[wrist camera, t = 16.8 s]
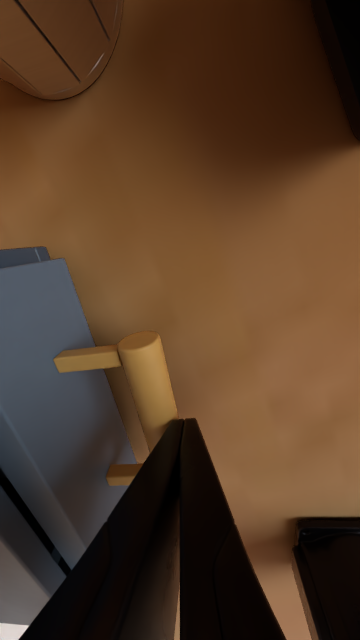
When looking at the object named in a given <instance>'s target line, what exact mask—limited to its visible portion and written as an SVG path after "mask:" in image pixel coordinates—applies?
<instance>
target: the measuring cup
mask: <svg viewBox="0 0 360 640" xmlns="http://www.w3.org/2000/svg"><path fill="white" fill-rule="evenodd" d="M122 8H123V0H0V78H1V79H3V80H4V81H7V82H9V83H11V84H13V85H14V86H16V87H17V88H19V89H20V90H22V91H24V92H26V93H28V94H30V95H32V96H35V97H38V98H42V99H49V100H60V99H65V98H69V97H72V96H74V95H77V94H79V93H80V92H82V91H83V90H85V89H87V88H88V87H89V86H90V85H91V84H92V83H93V82H94V81H95V80H96V79H97V78H98V76H99V75H100V74H101V73H102V71H103V69H104V68H105V66H106V64H107V63H108V61H109V59H110V56H111V54H112V52H113V49H114V46H115V43H116V40H117V37H118V33H119V28H120V24H121V16H122Z"/></svg>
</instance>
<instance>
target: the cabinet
mask: <svg viewBox="0 0 360 640" xmlns="http://www.w3.org/2000/svg"><path fill="white" fill-rule="evenodd" d="M48 260H50V257H49V255H48V252H47V249H46V247H33V248H31V247H30V248H17V249H4V250H0V269H1V268H7V267H13V266H18V265H24V264H30V263H36V262H42V261H48ZM70 571H71V569H70V567H69V566H68V564H67V563H66V562H65V560H64V559H63V557H62V556H61V558H60V561H59V563H58V564H57V562H56V561H55V560H54V558H53V557H52V555H51V554H50V553H49V551H48V550H47V549H46V547H45V546H44V544H43V543H42V542H41V540H40V539H39V537H38V536H37V535H36V533H35V532H34V531H33V529H32V528H31V526H30V525H29V524H28V522H27V521H26V520H25V518H24V517H23V515H22V514H21V513H20V511H19V510H18V508H17V507H16V506H15V504H14V503H13V502H12V500H11V499H10V497H9V496H8V495H7V493H6V492H5V491H4V489H3V488H2V486H1V485H0V623H5V624H17V625H30V624H31V623H32V621H33V620H34V619H35V618H36V616H37V615H38V614H39V612H40V611H41V610H42V608H43V607H44V606H45V605H46V603H47V602H48V601H49V599H50V598H51V597H52V595H53V594H54V593H55V592H56V590H57V589H58V588H59V586H60V585H61V584H62V582H63V581H64V580H65V578H66V577H67V576H68V574H69V573H70Z"/></svg>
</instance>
